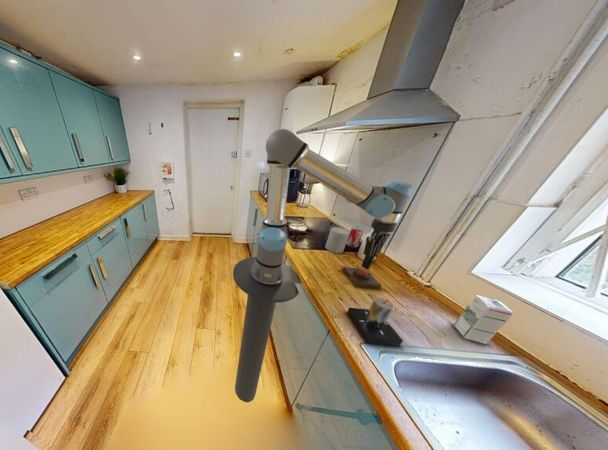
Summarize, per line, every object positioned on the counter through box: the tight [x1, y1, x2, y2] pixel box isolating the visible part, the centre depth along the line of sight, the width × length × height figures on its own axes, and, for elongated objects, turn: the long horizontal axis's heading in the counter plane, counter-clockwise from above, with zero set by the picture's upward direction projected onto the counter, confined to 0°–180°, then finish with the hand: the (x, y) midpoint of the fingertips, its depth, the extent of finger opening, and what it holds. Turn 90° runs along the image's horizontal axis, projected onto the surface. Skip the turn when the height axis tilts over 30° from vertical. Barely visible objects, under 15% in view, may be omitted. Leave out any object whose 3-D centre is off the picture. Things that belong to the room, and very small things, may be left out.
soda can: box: [346, 226, 364, 248], centre depth 120 cm, size 6×6×12 cm
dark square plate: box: [342, 266, 382, 290], centre depth 93 cm, size 12×10×4 cm
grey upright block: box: [365, 297, 395, 329], centre depth 66 cm, size 5×5×9 cm
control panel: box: [346, 307, 404, 348], centre depth 68 cm, size 12×10×3 cm
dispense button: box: [357, 266, 370, 276], centre depth 91 cm, size 4×4×2 cm
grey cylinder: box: [324, 226, 350, 254], centre depth 116 cm, size 10×10×12 cm
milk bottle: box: [357, 227, 376, 262], centre depth 106 cm, size 8×8×20 cm
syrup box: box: [453, 294, 515, 345], centre depth 65 cm, size 6×6×14 cm
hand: (365, 267), depth 90 cm, fingers closed
